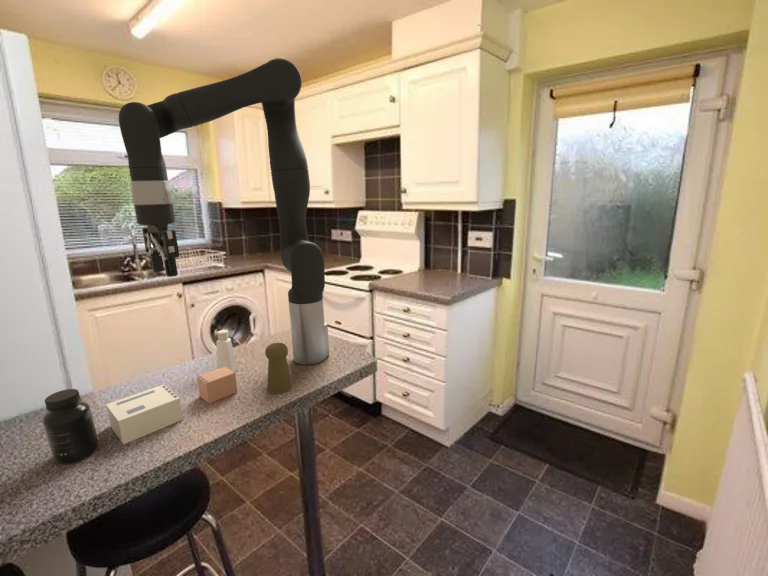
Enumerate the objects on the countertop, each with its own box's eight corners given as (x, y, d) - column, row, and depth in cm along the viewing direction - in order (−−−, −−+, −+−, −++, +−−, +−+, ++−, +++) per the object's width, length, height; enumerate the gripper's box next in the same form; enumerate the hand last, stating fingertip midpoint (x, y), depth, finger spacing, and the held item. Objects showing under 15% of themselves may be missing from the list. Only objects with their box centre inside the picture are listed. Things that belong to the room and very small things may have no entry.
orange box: (227, 385, 97) (225, 366, 96) (237, 391, 94) (235, 372, 93) (199, 396, 92) (196, 376, 91) (209, 403, 89) (206, 383, 88)
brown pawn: (286, 394, 92) (282, 350, 90) (262, 392, 94) (257, 348, 91) (296, 382, 98) (293, 340, 95) (274, 380, 99) (270, 339, 97)
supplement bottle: (70, 443, 76) (56, 386, 73) (107, 440, 77) (94, 384, 74) (43, 467, 70) (26, 406, 67) (84, 464, 70) (69, 403, 67)
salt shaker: (223, 376, 102) (217, 336, 99) (212, 370, 105) (207, 331, 103) (242, 369, 106) (237, 330, 103) (231, 363, 109) (226, 326, 107)
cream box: (167, 404, 89) (163, 384, 88) (183, 419, 83) (179, 397, 82) (110, 426, 81) (105, 404, 80) (123, 444, 75) (118, 420, 74)
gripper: (183, 201, 86) (194, 275, 90) (160, 201, 95) (170, 267, 99) (145, 203, 80) (158, 281, 84) (124, 202, 90) (137, 272, 94)
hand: (165, 273), depth 92 cm, fingers open, 8 cm apart
